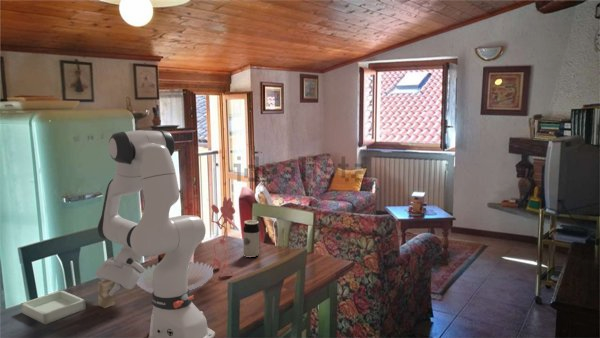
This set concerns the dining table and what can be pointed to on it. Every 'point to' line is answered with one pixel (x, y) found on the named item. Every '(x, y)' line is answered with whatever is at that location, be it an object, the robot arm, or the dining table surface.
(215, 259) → the red flower stem
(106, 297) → the ash block
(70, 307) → the tray
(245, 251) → the travel mug
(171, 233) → the robot arm
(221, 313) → the dining table surface
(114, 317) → the dining table surface
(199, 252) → the dining table surface
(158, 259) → the battery
